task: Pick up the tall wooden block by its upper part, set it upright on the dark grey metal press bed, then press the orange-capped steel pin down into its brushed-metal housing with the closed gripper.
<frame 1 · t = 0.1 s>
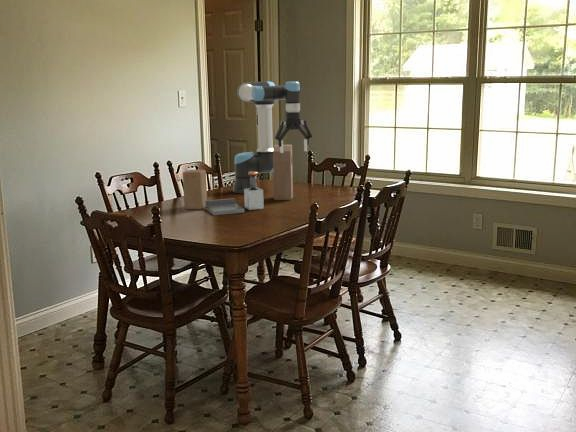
hand: (293, 152, 338), 28 cm above the table, fingers open, 13 cm apart
wooden block: (196, 208, 339), on the table
decorative block: (283, 198, 360), on the table
press pin: (253, 182, 333), point 14 cm above the table, slide at 0.0 cm
press bed: (224, 210, 330), on the table
pin housing: (254, 207, 336), on the table
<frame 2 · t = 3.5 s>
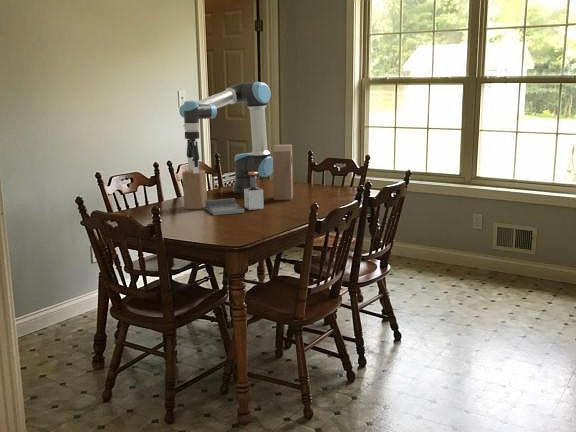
hand: (193, 171, 335), 19 cm above the table, fingers open, 13 cm apart
wooden block: (196, 208, 339), on the table, touching gripper
everything else where it was.
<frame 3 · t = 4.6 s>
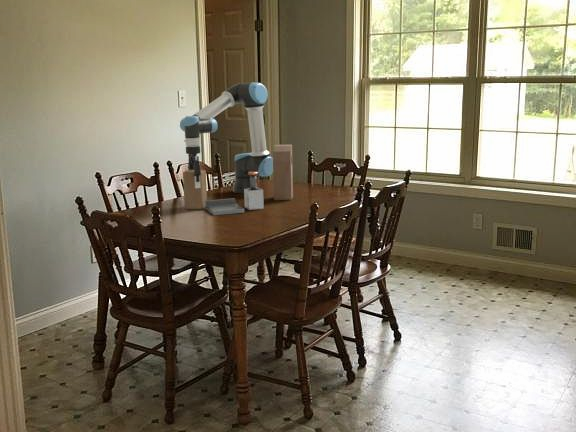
hand: (195, 186, 336), 12 cm above the table, fingers closed on wooden block, 13 cm apart
wooden block: (196, 208, 339), on the table, touching gripper
everything else where it was.
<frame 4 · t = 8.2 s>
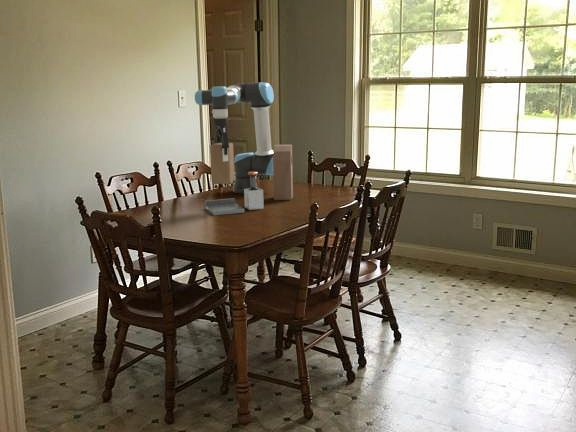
hand: (222, 159, 325), 27 cm above the table, fingers closed on wooden block, 13 cm apart
wooden block: (223, 182, 327), point 15 cm above the table, touching gripper
everything else where it was.
when the fingers open (15 cm above the table, at t = 11.4 s): wooden block stays where it is, resting on press bed.
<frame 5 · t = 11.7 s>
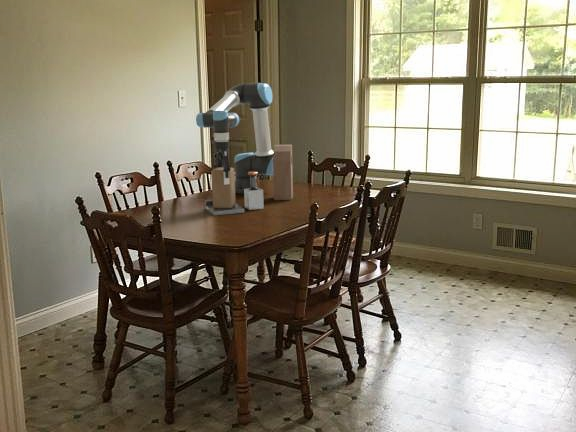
hand: (223, 182, 327), 15 cm above the table, fingers open, 13 cm apart
wooden block: (224, 207, 330), point 2 cm above the table, touching gripper, press bed
everything else where it was.
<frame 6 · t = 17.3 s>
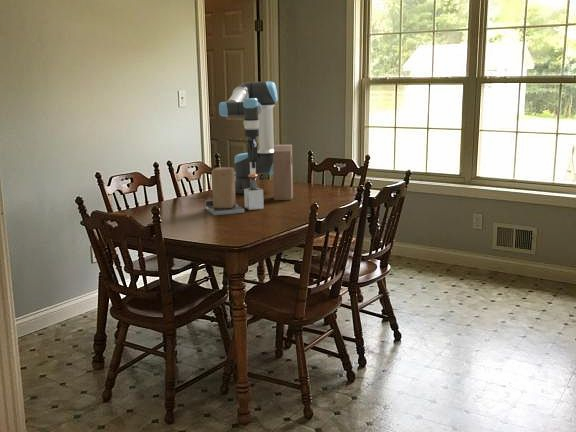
hand: (253, 174, 332), 18 cm above the table, fingers closed
wooden block: (224, 207, 330), point 2 cm above the table, touching press bed
press pin: (253, 185, 333), point 12 cm above the table, slide at -1.3 cm, touching gripper
everything else where it was.
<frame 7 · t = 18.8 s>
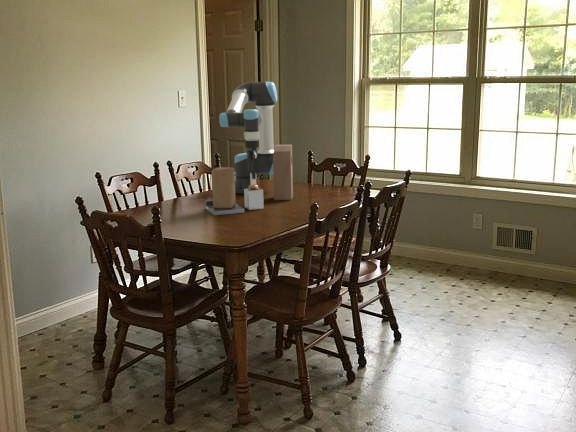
hand: (253, 184, 333), 12 cm above the table, fingers closed
press pin: (253, 195, 334), point 7 cm above the table, slide at -7.0 cm, touching gripper
everything else where it was.
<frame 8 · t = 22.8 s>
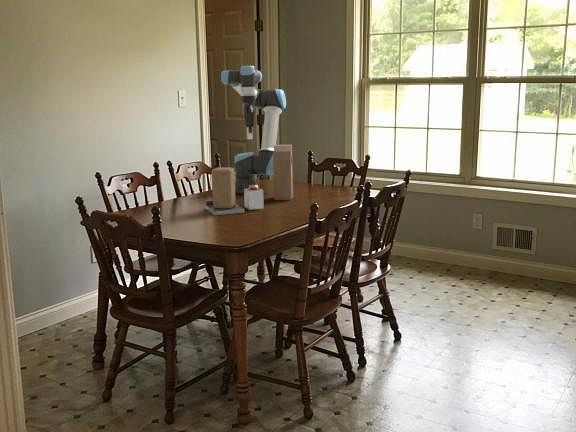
hand: (249, 138, 348), 34 cm above the table, fingers closed
press pin: (253, 195, 334), point 6 cm above the table, slide at -7.0 cm
everything else where it was.
at the end: wooden block inside the target area on the press bed (0.1 cm from its centre), point 1.8 cm above the press bed's base; wooden block tilted 0°; press pin slide at -7.0 cm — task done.
